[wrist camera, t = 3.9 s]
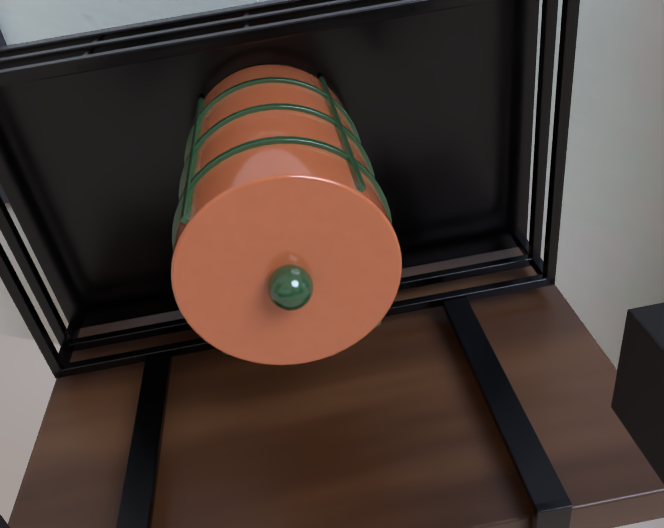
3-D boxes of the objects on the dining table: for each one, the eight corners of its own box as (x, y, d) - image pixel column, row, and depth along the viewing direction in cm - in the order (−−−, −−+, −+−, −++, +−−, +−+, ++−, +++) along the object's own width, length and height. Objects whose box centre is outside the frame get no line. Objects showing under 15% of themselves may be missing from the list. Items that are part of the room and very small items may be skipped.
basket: (-55, 55, 21) (-370, 284, 10) (535, -46, 22) (841, 66, 11) (94, 363, 29) (10, 674, 18) (519, 283, 30) (684, 538, 19)
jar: (167, 76, 22) (126, 216, 14) (343, 46, 22) (407, 165, 14) (210, 228, 25) (199, 410, 17) (362, 200, 25) (421, 368, 17)
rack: (80, 152, 34) (-117, 538, 15) (462, 84, 34) (737, 372, 16) (137, 296, 39) (48, 708, 21) (464, 236, 40) (667, 582, 21)
